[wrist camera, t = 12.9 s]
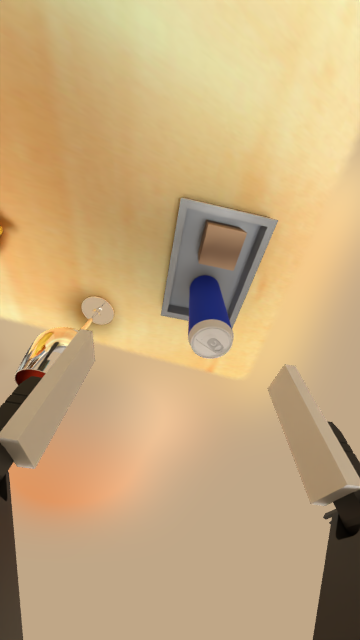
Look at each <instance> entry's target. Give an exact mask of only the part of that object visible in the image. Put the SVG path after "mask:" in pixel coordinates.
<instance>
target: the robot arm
mask: <svg viewBox="0 0 360 640" xmlns="http://www.w3.org/2000/svg"><path fill="white" fill-rule="evenodd" d="M94 361H95V355H94V343H93V332H92V331H89V330H83V329H80V330H79V332H78V333H77V334H76V335H75V337H74V338H73V339H72V341H71V342H70V343H69V344H68V346H67V347H66V348H65V350H64V351H63V352H62V353H61V355H60V356H59V357H58V359H57V360H56V361H55V362H54V364H53V365H52V366H51V368H50V369H49V370H48V371H47V373H46V374H45V375H44V377H43V378H42V377H35V376H31V377H29V378H28V379H26V380H25V381H23V382H22V383H20V385H19V386H18V387H17V388H16V389H15V390H14V392H13V393H12V395H10V396H9V397H8V398H7V400H6V401H5V403H3V404H2V405H1V407H0V640H23V633H22V623H21V610H20V598H19V586H18V575H17V564H16V551H15V539H14V527H13V516H12V504H11V494H10V481H9V472H8V470H9V468H10V466H11V465H12V463H13V462H14V463H15V464H16V465H17V466H18V467H24V468H32V469H35V468H36V466H37V464H38V462H39V461H40V459H41V457H42V455H43V453H44V452H45V450H46V448H47V446H48V444H49V443H50V441H51V439H52V437H53V435H54V434H55V432H56V430H57V428H58V426H59V425H60V423H61V421H62V419H63V417H64V416H65V414H66V412H67V410H68V408H69V407H70V404H71V403H72V401H73V399H74V398H75V396H76V394H77V392H78V390H79V389H80V387H81V385H82V383H83V381H84V379H85V378H86V376H87V374H88V372H89V371H90V369H91V367H92V365H93V363H94ZM268 391H269V394H270V397H271V399H272V402H273V405H274V407H275V410H276V413H277V415H278V418H279V421H280V423H281V426H282V429H283V431H284V434H285V437H286V439H287V442H288V445H289V447H290V450H291V452H292V456H293V458H294V461H295V464H296V466H297V468H298V471H299V474H300V477H301V480H302V482H303V485H304V488H305V490H306V493H307V496H308V498H309V501H310V504H315V505H323V506H326V505H328V504H330V503H332V502H333V503H334V505H335V507H336V509H335V510H332V511H330V512H328V513H326V514H325V515H324V517H323V518H325V519H328V518H331V517H332V521H331V522H329V523H330V524H331V528H330V534H329V540H328V546H327V553H326V560H325V565H324V572H323V578H322V584H321V591H320V597H319V604H318V610H317V616H316V623H315V629H314V635H313V640H360V462H359V461H358V459H357V458H356V456H355V454H353V451H352V449H351V448H350V446H349V445H348V444H347V441H346V439H345V438H344V436H343V435H342V433H341V432H340V430H339V429H338V428H337V427H336V426H335V425H334V424H333V423H332V422H327V421H326V419H325V417H324V415H323V413H322V412H321V410H320V408H319V407H318V405H317V403H316V401H315V400H314V398H313V396H312V394H311V393H310V391H309V389H308V387H307V386H306V384H305V382H304V380H303V379H302V377H301V375H300V373H299V372H298V370H297V368H296V367H295V366H292V365H286V364H285V365H284V366H283V367H282V369H281V370H280V372H279V373H278V375H277V376H276V377H275V379H274V380H273V382H272V383H271V385H270V386H269V387H268Z"/></svg>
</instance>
